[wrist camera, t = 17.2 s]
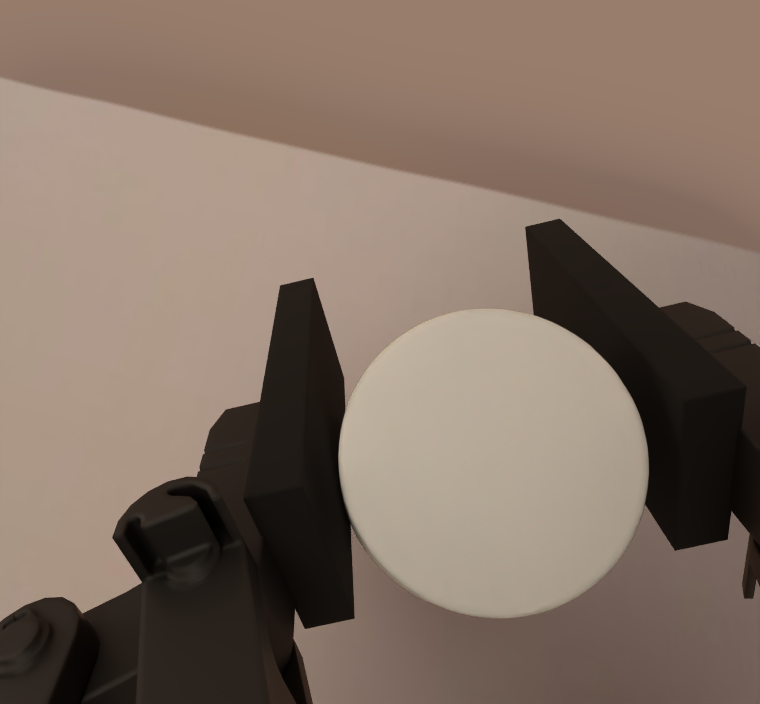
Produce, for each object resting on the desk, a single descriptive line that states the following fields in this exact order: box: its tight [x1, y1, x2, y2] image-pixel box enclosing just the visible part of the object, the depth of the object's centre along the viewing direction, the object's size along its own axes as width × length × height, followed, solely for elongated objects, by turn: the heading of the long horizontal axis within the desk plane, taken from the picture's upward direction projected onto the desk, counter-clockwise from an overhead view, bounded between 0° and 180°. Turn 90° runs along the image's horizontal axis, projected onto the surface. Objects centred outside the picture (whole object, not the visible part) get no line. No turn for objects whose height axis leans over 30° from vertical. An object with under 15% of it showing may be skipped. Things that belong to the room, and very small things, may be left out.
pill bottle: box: [338, 308, 649, 618], centre depth 11 cm, size 5×5×8 cm
